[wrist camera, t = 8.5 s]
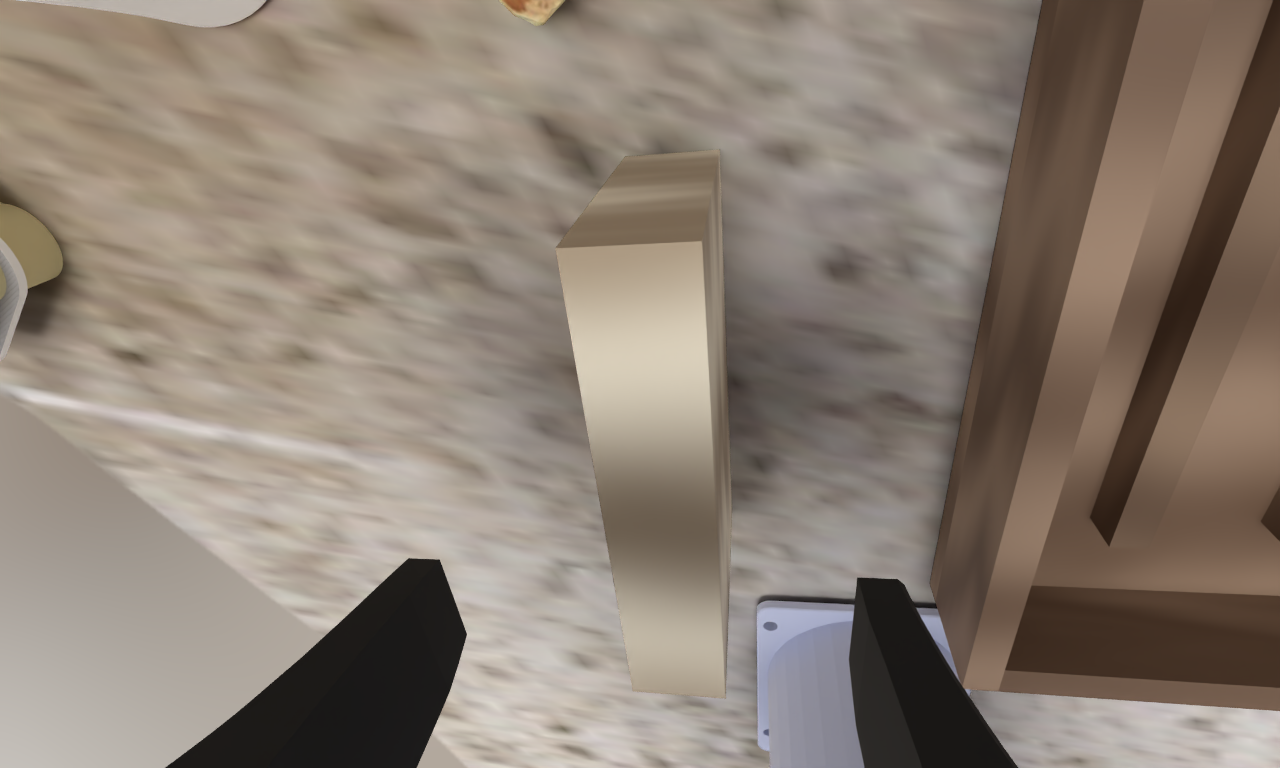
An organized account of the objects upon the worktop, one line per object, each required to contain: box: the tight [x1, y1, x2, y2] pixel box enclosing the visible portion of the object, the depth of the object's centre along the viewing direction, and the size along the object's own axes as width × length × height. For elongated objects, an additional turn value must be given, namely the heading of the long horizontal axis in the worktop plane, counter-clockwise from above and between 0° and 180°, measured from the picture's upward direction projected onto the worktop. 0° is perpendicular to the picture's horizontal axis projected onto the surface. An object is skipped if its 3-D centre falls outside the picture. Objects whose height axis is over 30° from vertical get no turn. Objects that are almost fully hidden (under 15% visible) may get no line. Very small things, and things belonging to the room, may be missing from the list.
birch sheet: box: [555, 149, 732, 699], centre depth 16 cm, size 12×2×7 cm, turn 6°
